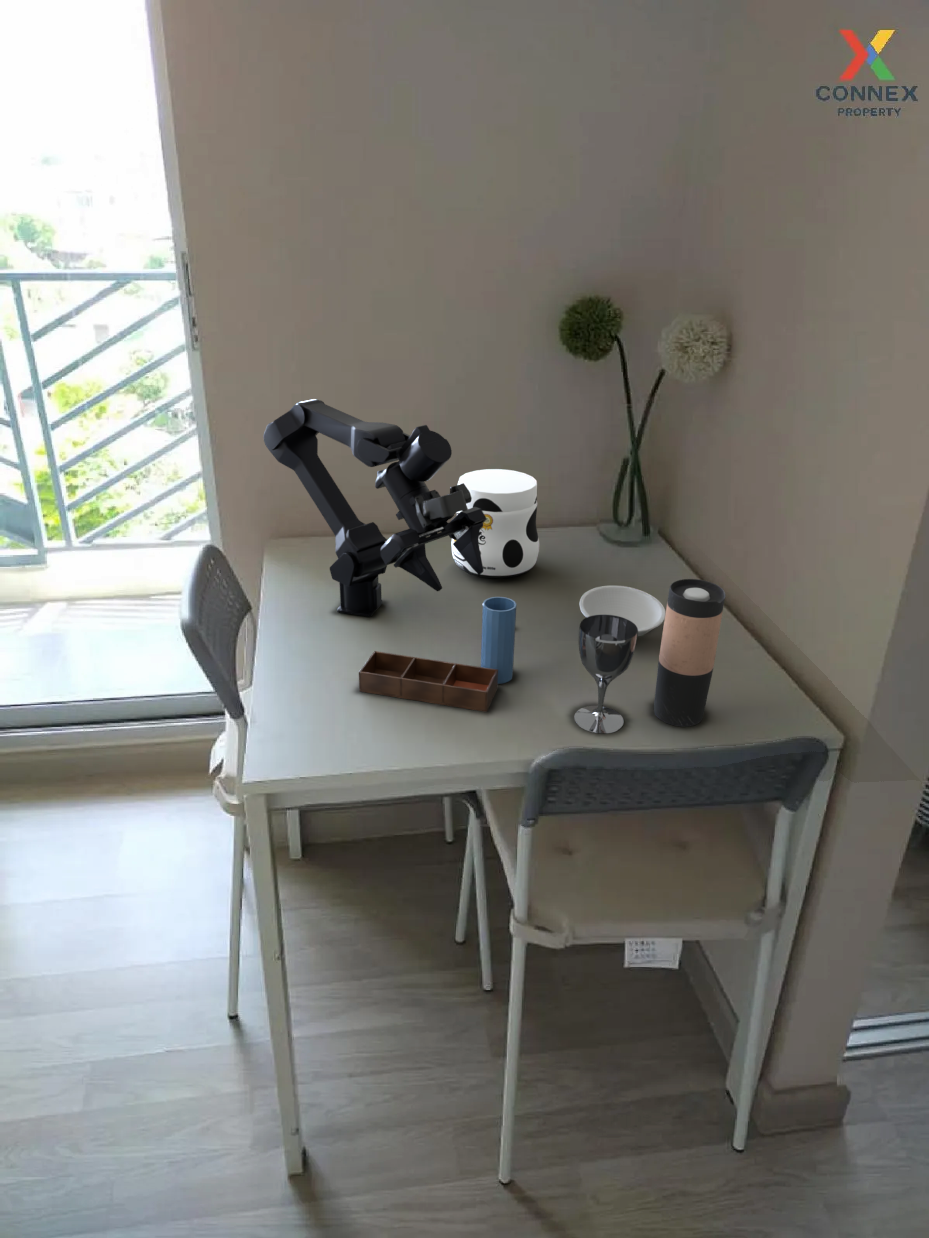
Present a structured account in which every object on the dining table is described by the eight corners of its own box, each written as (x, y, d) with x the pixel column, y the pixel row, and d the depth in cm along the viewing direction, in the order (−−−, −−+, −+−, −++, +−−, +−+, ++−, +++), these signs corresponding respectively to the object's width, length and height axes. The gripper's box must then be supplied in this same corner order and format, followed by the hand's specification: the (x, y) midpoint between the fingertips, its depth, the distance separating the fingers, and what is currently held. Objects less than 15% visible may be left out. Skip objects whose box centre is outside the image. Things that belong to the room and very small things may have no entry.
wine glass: (613, 741, 122) (624, 646, 115) (561, 723, 125) (569, 631, 118) (635, 715, 128) (646, 623, 121) (585, 698, 131) (594, 609, 124)
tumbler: (477, 681, 135) (479, 608, 130) (484, 665, 140) (487, 595, 134) (508, 686, 134) (512, 613, 129) (515, 670, 139) (519, 599, 133)
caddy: (359, 691, 132) (358, 671, 130) (375, 669, 138) (374, 650, 136) (486, 712, 128) (487, 692, 126) (497, 688, 133) (498, 669, 132)
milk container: (437, 576, 170) (437, 487, 162) (470, 545, 185) (472, 463, 177) (521, 592, 165) (525, 501, 156) (549, 559, 179) (554, 474, 171)
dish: (572, 609, 158) (574, 584, 156) (651, 611, 158) (654, 586, 156) (583, 657, 143) (585, 630, 140) (671, 659, 143) (675, 632, 140)
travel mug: (645, 699, 131) (662, 578, 122) (695, 698, 132) (715, 577, 123) (660, 728, 125) (678, 602, 116) (712, 727, 125) (734, 601, 116)
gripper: (391, 482, 126) (444, 575, 124) (479, 457, 138) (529, 541, 136) (357, 520, 134) (407, 607, 132) (444, 493, 146) (491, 573, 144)
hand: (461, 581), depth 136 cm, fingers open, 9 cm apart
